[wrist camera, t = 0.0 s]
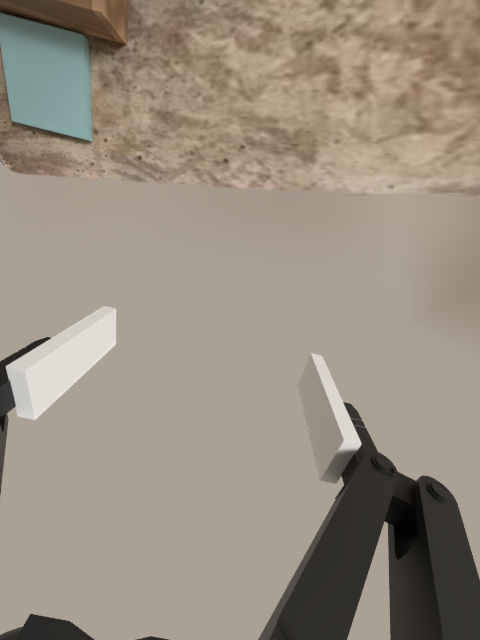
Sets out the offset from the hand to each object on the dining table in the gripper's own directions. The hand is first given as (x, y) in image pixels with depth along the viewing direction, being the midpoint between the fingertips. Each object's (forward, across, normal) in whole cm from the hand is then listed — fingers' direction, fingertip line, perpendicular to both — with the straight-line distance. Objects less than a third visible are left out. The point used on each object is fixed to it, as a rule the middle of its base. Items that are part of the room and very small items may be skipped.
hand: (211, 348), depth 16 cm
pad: (+28, -31, +18) cm, 45 cm away
